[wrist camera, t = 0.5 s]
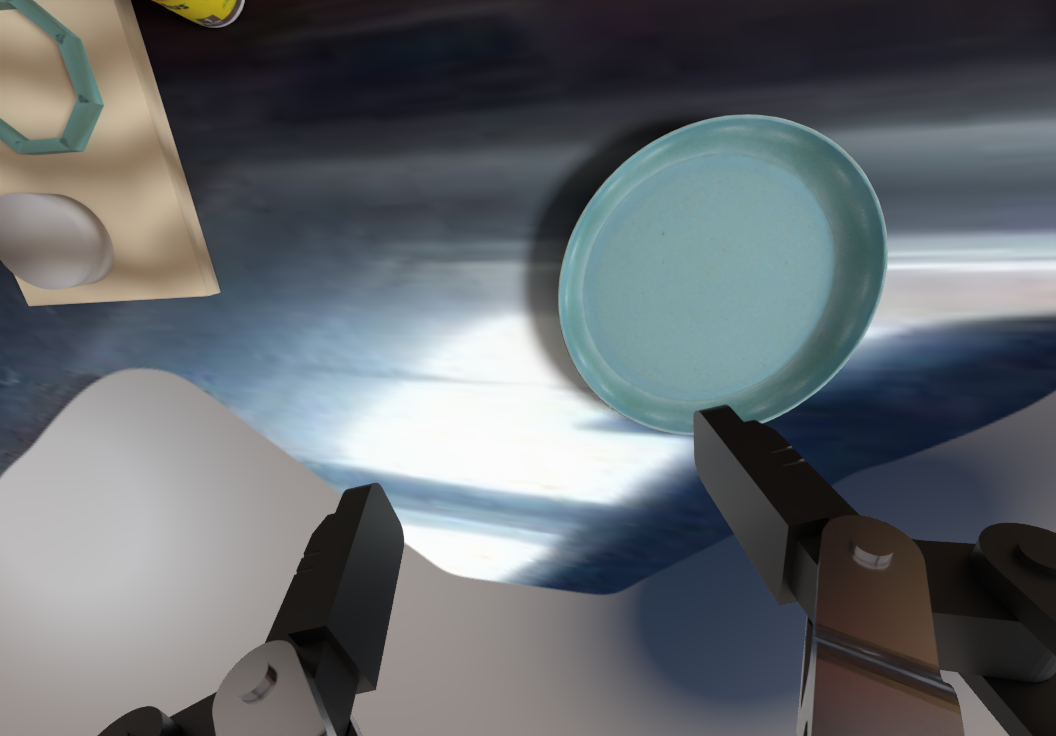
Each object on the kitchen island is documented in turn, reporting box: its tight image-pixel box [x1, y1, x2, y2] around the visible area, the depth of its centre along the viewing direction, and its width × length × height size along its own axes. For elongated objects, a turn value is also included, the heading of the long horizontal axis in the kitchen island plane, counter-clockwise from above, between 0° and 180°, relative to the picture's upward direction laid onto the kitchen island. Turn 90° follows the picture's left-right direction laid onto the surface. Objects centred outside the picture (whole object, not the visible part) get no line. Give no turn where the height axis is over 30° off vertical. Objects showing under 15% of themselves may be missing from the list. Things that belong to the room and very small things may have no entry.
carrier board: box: [0, 0, 221, 306], centre depth 32 cm, size 22×16×4 cm
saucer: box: [558, 115, 888, 435], centre depth 34 cm, size 24×24×3 cm
